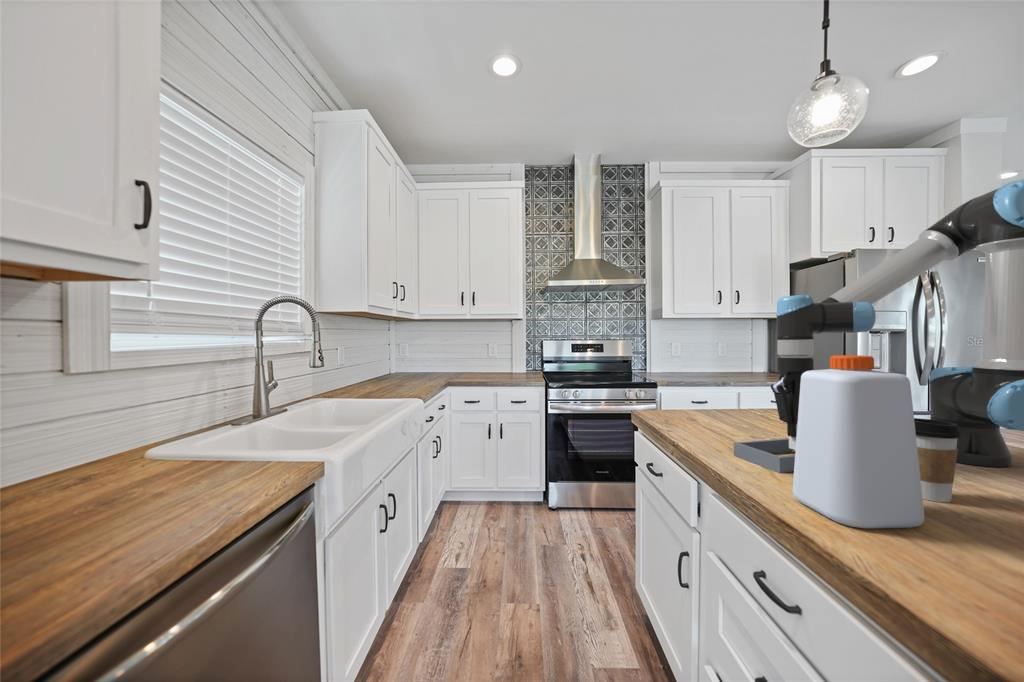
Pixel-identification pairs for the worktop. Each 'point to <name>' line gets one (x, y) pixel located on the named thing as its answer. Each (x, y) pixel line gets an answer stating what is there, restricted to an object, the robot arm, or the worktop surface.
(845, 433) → the plastic bottle
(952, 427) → the coffee cup
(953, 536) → the worktop surface
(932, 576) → the worktop surface
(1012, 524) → the worktop surface
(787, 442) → the grey shallow tray
